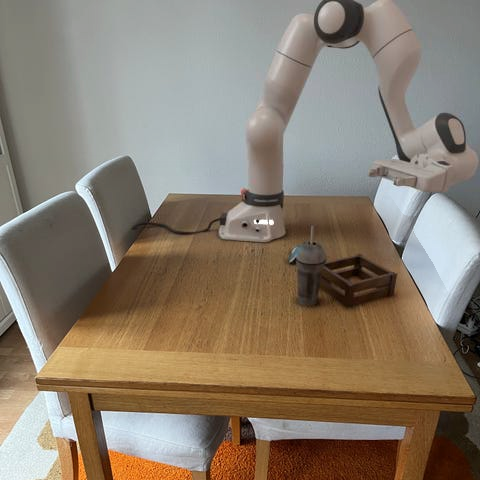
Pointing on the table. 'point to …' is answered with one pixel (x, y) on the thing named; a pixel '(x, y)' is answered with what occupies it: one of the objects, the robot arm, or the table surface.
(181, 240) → the table surface
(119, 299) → the table surface
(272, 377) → the table surface
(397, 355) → the table surface
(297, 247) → the decorative butterfly
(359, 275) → the crate
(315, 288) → the beverage cup
